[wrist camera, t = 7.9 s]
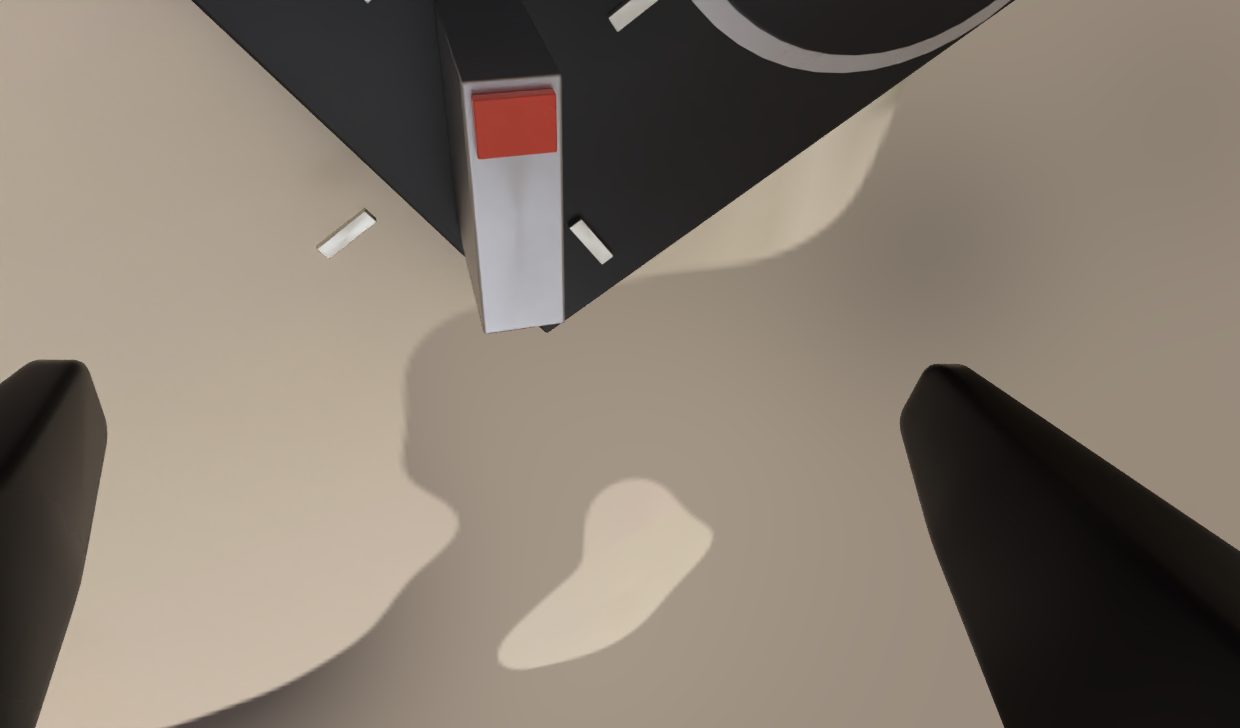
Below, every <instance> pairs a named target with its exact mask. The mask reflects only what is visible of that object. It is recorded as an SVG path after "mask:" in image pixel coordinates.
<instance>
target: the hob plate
mask: <svg viewBox="0 0 1240 728" xmlns="http://www.w3.org/2000/svg"><path fill="white" fill-rule="evenodd" d="M691 1H692V2H693V3H694V4H695V5H696V6H697V8H698V9H699V10H700V11H701V12H702V13H703V14H704V15H705V16H706V17H707V18H708V19H709V20H710V22H711V23H712V24H713V25H714V26H715V27H717V28H718V29H719V30H720V31H722V32H723V33H724V34H725V35H727V36H728V37H729V38H731V39H732V40H733V41H734V42H736V43H737V44H738V45H740V46H742V47H744V48H746V49H747V50H749V51H751V52H753V53H755V54H757V55H758V56H760V57H762V58H764V59H767V60H770V61H773V62H776V63H778V64H781V65H784V66H787V67H791V68H796V69H801V70H807V71H812V72H825V73H849V72H859V71H868V70H874V69H878V68H883V67H887V66H891V65H895V64H899V63H902V62H905V61H908V60H910V59H913V58H916V57H918V56H921V55H924V54H926V53H929V52H931V51H933V50H935V49H937V48H939V47H941V46H943V45H945V44H947V43H949V42H951V41H953V40H955V39H957V38H958V37H960V36H961V35H963V34H965V33H966V32H968V31H969V30H971V29H972V28H974V27H976V26H977V25H979V24H980V23H982V22H983V21H985V20H986V19H988V18H989V17H990V16H991V15H993V14H994V13H995V12H997V11H998V10H999V9H1000V8H1002V7H1003V6H1004V5H1005V4H1007V3H1008V2H1009V1H1011V0H691Z"/></svg>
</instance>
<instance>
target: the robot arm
mask: <svg viewBox="0 0 1240 728" xmlns="http://www.w3.org/2000/svg"><path fill="white" fill-rule="evenodd" d="M900 430H901V435H902V438H903V442H904V445H905V449H906V453H907V456H908V460H909V463H910V467H911V470H912V474H913V478H914V482H915V485H916V489H917V493H918V496H919V500H920V504H921V507H922V511H923V514H924V518H925V522H926V525H927V528H928V531H929V535H930V538H931V541H932V544H933V546H934V549H935V552H936V555H937V558H938V560H939V563H940V565H941V568H942V570H943V573H944V575H945V578H946V581H947V583H948V586H949V588H950V591H951V593H952V595H953V598H954V601H955V604H956V606H957V609H958V611H959V614H960V616H961V619H962V621H963V624H964V626H965V629H966V631H967V634H968V636H969V639H970V642H971V644H972V646H973V649H974V652H975V654H976V657H977V659H978V662H979V664H980V667H981V669H982V672H983V675H984V677H985V679H986V682H987V685H988V687H989V690H990V692H991V695H992V698H993V700H994V703H995V705H996V708H997V710H998V712H999V715H1000V718H1001V720H1002V723H1003V725H1004V728H1240V551H1239V550H1237V549H1236V548H1234V547H1233V546H1231V545H1230V544H1228V543H1227V542H1225V541H1224V540H1222V539H1221V538H1219V537H1218V536H1216V535H1215V534H1213V533H1212V532H1210V531H1209V530H1208V529H1206V528H1205V527H1203V526H1202V525H1200V524H1198V523H1197V522H1196V521H1194V520H1193V519H1191V518H1190V517H1188V516H1187V515H1185V514H1184V513H1182V512H1181V511H1179V510H1178V509H1177V508H1175V507H1174V506H1172V505H1170V504H1169V503H1168V502H1166V501H1165V500H1163V499H1162V498H1160V497H1159V496H1157V495H1156V494H1154V493H1153V492H1151V491H1150V490H1148V489H1147V488H1145V487H1144V486H1142V485H1141V484H1140V483H1138V482H1137V481H1135V480H1134V479H1132V478H1131V477H1129V476H1128V475H1126V474H1125V473H1123V472H1122V471H1120V470H1119V469H1117V468H1116V467H1114V466H1113V465H1111V464H1110V463H1109V462H1107V461H1105V460H1104V459H1103V458H1101V457H1100V456H1098V455H1097V454H1095V453H1094V452H1092V451H1091V450H1089V449H1088V448H1086V447H1085V446H1083V445H1082V444H1080V443H1079V442H1077V441H1076V440H1075V439H1073V438H1071V437H1070V436H1069V435H1067V434H1066V433H1064V432H1063V431H1061V430H1060V429H1058V428H1057V427H1055V426H1054V425H1052V424H1051V423H1049V422H1048V421H1046V420H1045V419H1044V418H1042V417H1041V416H1039V415H1038V414H1036V413H1035V412H1033V411H1032V410H1030V409H1029V408H1027V407H1026V406H1024V405H1023V404H1021V403H1020V402H1018V401H1017V400H1015V399H1014V398H1012V397H1011V396H1010V395H1008V394H1007V393H1005V392H1004V391H1002V390H1001V389H999V388H998V387H996V386H995V385H993V384H992V383H990V382H989V381H987V380H986V379H984V378H983V377H981V376H980V375H978V374H977V373H976V372H974V371H973V370H971V369H970V368H968V367H966V366H964V365H960V364H934V365H930V366H929V367H928V368H927V369H925V370H924V372H923V373H922V375H921V377H920V379H919V380H918V382H917V384H916V386H915V388H914V390H913V392H912V393H911V395H910V397H909V399H908V401H907V403H906V404H905V406H904V408H903V410H902V413H901V417H900ZM106 444H107V425H106V420H105V416H104V413H103V410H102V407H101V404H100V402H99V399H98V396H97V393H96V390H95V387H94V384H93V381H92V378H91V375H90V372H89V370H88V368H87V367H86V366H85V364H84V363H82V362H80V361H77V360H36V361H32V362H30V363H28V364H26V365H25V366H23V367H22V368H21V369H19V370H18V371H17V372H15V373H14V374H13V375H11V376H10V377H9V378H7V379H6V380H5V381H3V382H2V383H1V384H0V728H35V727H36V724H37V721H38V718H39V714H40V711H41V708H42V705H43V702H44V699H45V696H46V693H47V689H48V686H49V683H50V680H51V677H52V674H53V671H54V668H55V665H56V661H57V658H58V655H59V652H60V649H61V646H62V643H63V640H64V637H65V633H66V630H67V627H68V624H69V621H70V618H71V615H72V612H73V608H74V605H75V602H76V598H77V595H78V591H79V588H80V584H81V579H82V575H83V570H84V565H85V560H86V555H87V549H88V544H89V538H90V533H91V527H92V522H93V516H94V510H95V505H96V499H97V494H98V488H99V483H100V477H101V472H102V466H103V461H104V455H105V450H106Z"/></svg>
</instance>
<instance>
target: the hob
mask: <svg viewBox="0 0 1240 728" xmlns="http://www.w3.org/2000/svg"><path fill="white" fill-rule="evenodd" d="M192 1H193V2H194V3H195V4H196V5H197V6H198V7H199V8H200V9H201V10H202V11H203V12H204V13H205V14H206V15H208V16H209V17H210V18H211V19H212V20H213V21H214V22H215V23H216V24H217V25H218V26H219V27H220V28H221V29H222V30H224V31H225V32H226V33H227V34H228V35H229V36H230V37H231V38H232V39H233V40H234V41H235V42H236V43H237V44H238V45H240V46H241V47H242V48H243V49H244V50H245V51H246V52H247V53H248V54H249V55H250V56H251V57H252V58H253V59H254V60H256V61H257V62H258V63H259V64H260V65H261V66H262V67H263V68H264V69H265V70H266V71H267V72H268V73H269V74H270V75H272V76H273V77H274V78H275V79H276V80H277V81H278V82H279V83H280V84H281V85H282V86H283V87H284V88H285V89H286V90H288V91H289V92H290V93H291V94H292V95H293V96H294V97H295V98H296V99H297V100H298V101H299V102H300V103H301V104H302V105H304V106H305V107H306V108H307V109H308V110H309V111H310V112H311V113H312V114H313V115H314V116H315V117H316V118H317V119H318V120H320V121H321V122H322V123H323V124H324V125H325V126H326V127H327V128H328V129H329V130H330V131H331V132H332V133H333V134H334V135H336V136H337V137H338V138H339V139H340V140H341V141H342V142H343V143H344V144H345V145H346V146H347V147H348V148H349V149H350V150H352V151H353V152H354V153H355V154H356V155H357V156H358V157H359V158H360V159H361V160H362V161H363V162H364V163H365V164H366V165H368V166H369V167H370V168H371V169H372V170H373V171H374V172H375V173H376V174H377V175H378V176H379V177H380V178H381V179H382V180H384V181H385V182H386V183H387V184H388V185H389V186H390V187H391V188H392V189H393V190H394V191H395V192H396V193H397V194H398V195H400V196H401V197H402V198H403V199H404V200H405V201H406V202H407V203H408V204H409V205H410V206H411V207H412V208H413V209H414V210H416V211H417V212H418V213H419V214H420V215H421V216H422V217H423V218H424V219H425V220H426V221H427V222H428V223H429V224H430V225H432V226H433V227H434V228H435V229H436V230H437V231H438V232H439V233H440V234H441V235H442V236H443V237H444V238H445V239H446V240H448V241H449V242H450V243H451V244H452V245H453V246H454V247H455V248H456V249H457V250H458V251H459V252H460V253H461V254H462V255H464V256H465V253H464V249H463V245H462V240H461V236H460V232H459V226H458V217H457V207H456V198H455V189H454V180H453V170H452V161H451V152H450V143H449V133H448V124H447V115H446V106H445V96H444V87H443V78H442V69H441V59H440V50H439V41H438V32H437V22H436V13H435V4H434V3H435V1H436V0H192ZM521 1H522V2H523V4H524V6H525V8H526V10H527V12H528V14H529V16H530V17H531V19H532V21H533V23H534V25H535V27H536V29H537V31H538V33H539V34H540V36H541V38H542V40H543V42H544V44H545V46H546V48H547V49H548V51H549V53H550V55H551V57H552V59H553V61H554V63H555V64H556V66H557V68H558V70H559V72H560V74H561V76H562V131H563V212H564V294H565V320H566V319H568V318H569V317H570V316H572V315H573V314H575V313H576V312H577V311H579V310H580V309H582V308H583V307H585V306H586V305H587V304H589V303H590V302H592V301H593V300H594V299H596V298H597V297H599V296H600V295H601V294H603V293H604V292H606V291H607V290H608V289H610V288H611V287H613V286H614V285H615V284H617V283H618V282H620V281H621V280H623V279H624V278H625V277H627V276H628V275H630V274H631V273H632V272H634V271H635V270H637V269H638V268H639V267H641V266H642V265H644V264H645V263H646V262H648V261H649V260H651V259H652V258H653V257H655V256H656V255H658V254H659V253H660V252H662V251H663V250H665V249H666V248H667V247H669V246H670V245H672V244H673V243H675V242H676V241H677V240H679V239H680V238H682V237H683V236H684V235H686V234H687V233H689V232H690V231H691V230H693V229H694V228H696V227H697V226H698V225H700V224H701V223H703V222H704V221H705V220H707V219H708V218H710V217H711V216H712V215H714V214H715V213H717V212H718V211H719V210H721V209H722V208H724V207H725V206H726V205H728V204H729V203H731V202H732V201H734V200H735V199H736V198H738V197H739V196H741V195H742V194H743V193H745V192H746V191H748V190H749V189H750V188H752V187H753V186H755V185H756V184H757V183H759V182H760V181H762V180H763V179H764V178H766V177H767V176H769V175H770V174H771V173H773V172H774V171H776V170H777V169H778V168H780V167H781V166H783V165H784V164H786V163H787V162H788V161H790V160H791V159H793V158H794V157H795V156H797V155H798V154H800V153H801V152H802V151H804V150H805V149H807V148H808V147H809V146H811V145H812V144H814V143H815V142H816V141H818V140H819V139H821V138H822V137H823V136H825V135H826V134H828V133H829V132H830V131H832V130H833V129H835V128H836V127H837V126H839V125H840V124H842V123H843V122H845V121H846V120H847V119H849V118H850V117H852V116H853V115H854V114H856V113H857V112H859V111H860V110H861V109H863V108H864V107H866V106H867V105H868V104H870V103H871V102H873V101H874V100H875V99H877V98H878V97H880V96H881V95H882V94H884V93H885V92H887V91H888V90H889V89H891V88H892V87H894V86H895V85H897V84H898V83H899V82H901V81H902V80H904V79H905V78H906V77H908V76H909V75H911V74H912V73H913V72H915V71H916V70H918V69H919V68H920V67H922V66H923V65H925V64H926V63H927V62H929V61H930V60H932V59H933V58H934V57H936V56H937V55H939V54H940V53H941V52H943V51H944V50H946V49H947V48H948V47H950V46H951V45H953V44H954V43H955V42H957V41H958V40H960V39H961V38H962V37H964V36H965V35H966V34H968V33H970V32H971V31H972V30H974V29H975V28H977V27H978V26H979V25H980V24H982V23H984V22H985V21H986V20H987V19H986V20H985V21H983V22H982V23H980V24H979V25H977V26H976V27H974V28H972V29H971V30H969V31H968V32H966V33H965V34H963V35H961V36H960V37H958V38H957V39H955V40H953V41H951V42H949V43H947V44H945V45H943V46H941V47H939V48H937V49H935V50H933V51H931V52H929V53H926V54H924V55H921V56H918V57H916V58H913V59H910V60H908V61H905V62H902V63H899V64H895V65H891V66H887V67H883V68H878V69H874V70H868V71H859V72H849V73H825V72H812V71H807V70H801V69H796V68H791V67H787V66H784V65H781V64H778V63H776V62H773V61H770V60H767V59H764V58H762V57H760V56H758V55H757V54H755V53H753V52H751V51H749V50H747V49H746V48H744V47H742V46H740V45H738V44H737V43H736V42H734V41H733V40H732V39H731V38H729V37H728V36H727V35H725V34H724V33H723V32H722V31H720V30H719V29H718V28H717V27H715V26H714V25H713V24H712V23H711V22H710V20H709V19H708V18H707V17H706V16H705V15H704V14H703V13H702V12H701V11H700V10H699V9H698V8H697V6H696V5H695V4H694V3H693V2H692V1H691V0H521ZM1013 1H1014V0H1011V1H1009V2H1008V3H1007V4H1005V5H1004V6H1003V7H1002V8H1000V9H999V10H998V11H997V12H995V13H994V14H993V15H995V14H996V13H998V12H999V11H1000V10H1002V9H1003V8H1004V7H1006V6H1007V5H1009V4H1010V3H1012V2H1013ZM993 15H991V16H990V17H992V16H993ZM990 17H989V18H990ZM989 18H988V19H989ZM374 223H376V217H374V216H373V215H372V214H371V213H370V212H369V211H368V210H367V209H365V208H363V209H362V210H361V211H360V212H358V213H357V214H356V215H355V216H353V217H352V218H351V219H349V220H348V221H347V222H346V223H344V224H343V225H342V226H341V227H339V228H338V229H337V230H336V231H334V232H333V233H332V234H331V235H329V236H328V237H327V238H326V239H324V240H323V241H322V242H320V243H319V244H318V245H317V250H318V251H319V252H320V253H322V254H323V255H324V256H325V257H327V258H328V259H330V258H331V257H332V256H334V255H335V254H336V253H337V252H339V251H340V250H341V249H343V248H344V247H345V246H346V245H348V244H349V243H350V242H351V241H353V240H354V239H355V238H357V237H358V236H359V235H360V234H362V233H363V232H364V231H365V230H367V229H368V228H369V227H371V226H372V225H373V224H374ZM560 324H561V323H560ZM558 325H559V324H553V325H546V326H539V327H540V328H542V330H544V331H545V332H549V331H551V330H552V329H554V328H555V327H556V326H558Z"/></svg>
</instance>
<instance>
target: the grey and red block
mask: <svg viewBox="0 0 1240 728" xmlns="http://www.w3.org/2000/svg"><path fill="white" fill-rule="evenodd" d="M434 4H435V13H436V22H437V32H438V41H439V50H440V59H441V69H442V78H443V87H444V96H445V106H446V115H447V124H448V133H449V143H450V152H451V161H452V170H453V180H454V189H455V198H456V207H457V217H458V226H459V232H460V236H461V240H462V245H463V249H464V253H465V257H466V261H467V266H468V270H469V274H470V278H471V283H472V287H473V291H474V295H475V299H476V304H477V308H478V312H479V316H480V321H481V325H482V329H483V332H484V333H485V334H490V333H497V332H503V331H511V330H518V329H525V328H531V327H539V326H546V325H553V324H560V323H564V321H565V294H564V212H563V131H562V76H561V74H560V72H559V70H558V68H557V66H556V64H555V63H554V61H553V59H552V57H551V55H550V53H549V51H548V49H547V48H546V46H545V44H544V42H543V40H542V38H541V36H540V34H539V33H538V31H537V29H536V27H535V25H534V23H533V21H532V19H531V17H530V16H529V14H528V12H527V10H526V8H525V6H524V4H523V2H522V1H521V0H436V1H435V3H434Z"/></svg>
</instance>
